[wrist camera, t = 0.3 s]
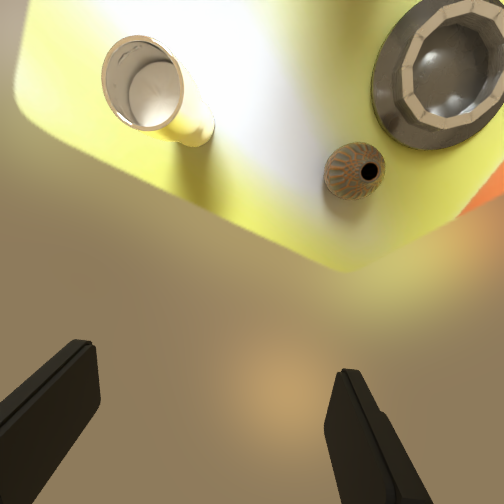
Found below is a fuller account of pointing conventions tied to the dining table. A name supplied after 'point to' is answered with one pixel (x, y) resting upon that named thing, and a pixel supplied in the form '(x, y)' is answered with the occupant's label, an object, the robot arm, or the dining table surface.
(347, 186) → the vase
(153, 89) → the beer glass
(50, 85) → the dining table surface
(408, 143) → the ring seat
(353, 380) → the robot arm
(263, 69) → the dining table surface
